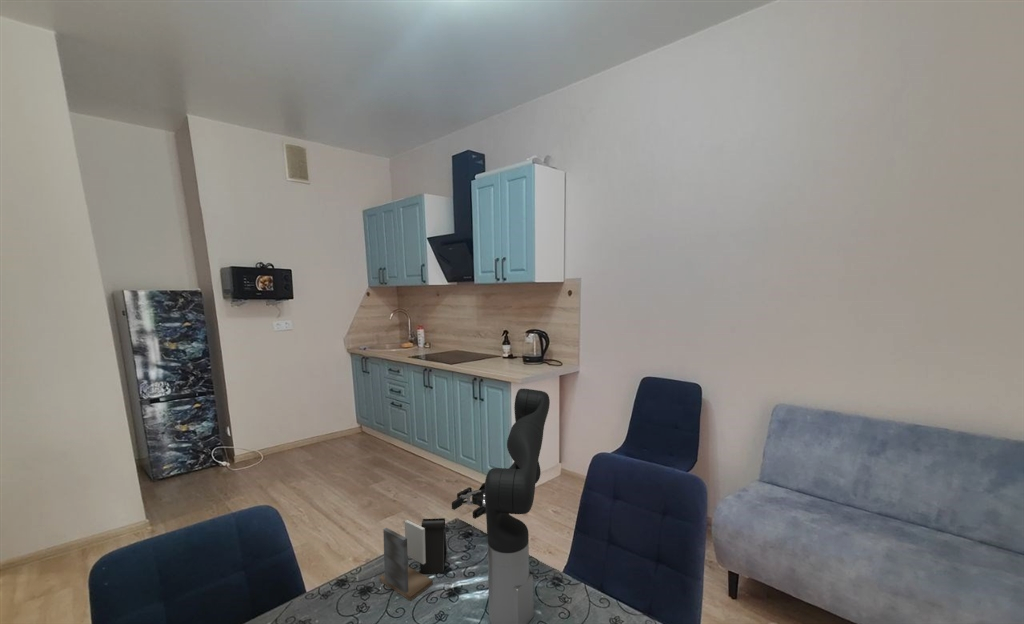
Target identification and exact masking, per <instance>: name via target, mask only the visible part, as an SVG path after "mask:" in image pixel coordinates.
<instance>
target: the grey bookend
mask: <svg viewBox="0 0 1024 624" xmlns="http://www.w3.org/2000/svg"><path fill="white" fill-rule="evenodd" d="M382 533H383V563H384V564H383V565H384V566H383V567H384V569H383V570H384V574H383V575H381V576H380V577H379V581H380V582H381V583H383V584H384V585H385V586H387V587H389V588H390V589H392V590H394V591H395V592H396V593H397V594H399V595H400V596H401V597H404V598H405V599H407V600H408V601H409V602H411V601H412V600H414V599H415V598H417V597H418V596H419V595H421V594H422V593H423V592H424V591H426V590H428V588H430V587H431V586H432V585H433V584H434V580H433V579H431V578H429V577H428V576H427V575H424V574H421V573H420V571H417V570H416V569H414V568H412V567H411V566H409V556H408V555H407V538H405V535H404V536H403V535H401V534H400V533H398V532H396V531H394V530H392V529H390V528H388V527H385V528H384V529H383V532H382Z"/></svg>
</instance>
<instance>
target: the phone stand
mask: <svg viewBox="0 0 1024 624" xmlns="http://www.w3.org/2000/svg"><path fill="white" fill-rule="evenodd" d="M420 526H421V527H423V528H425V556H426V563H425V564H421V563H419V565H420V567H419V573H421V574H423V575H424V574H425V575H426V574H443V573H444V569H445V565H446V562H447V561H446V560H447V556H448V545H447V542H448V541H447V533H446V518H443V517H442V518H441V517H440V518H439V517H438V518H437V517H436V518H422V520H421V525H420Z"/></svg>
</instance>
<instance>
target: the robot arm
mask: <svg viewBox="0 0 1024 624" xmlns="http://www.w3.org/2000/svg"><path fill="white" fill-rule="evenodd" d="M513 409H514V420H515V422H514V423H513V425H512V427H511V428H510V431H509V434H508V437H507V439H506V448H507V452H508V454H509V456H510V457H511V459H512V461H513V463H512V464H511V465H510V467H509V468H507V467H504V468H503V467H493V468H490V469H489V470H488V472H487V474H486V475H485V480H484V481H485V482H483V483H482V484H481V486H480V487H479V488H478V489H477V490H473V488H472V487H471V486H469V487H467V488H465V489H464V490H461V491H460V492H457V493H456V499H455V500H453V501H452V502H451V509H452V510H453V511H455V510H457V509H458V508H460V507H461V506H463V505H468V506H472V505H474V506H477V508H475V509H474V510H472V519H474V520H475V519H478V518H480V517H481V516H483V515H485V517H486V518H485V519H486V535H487V572H488V573H487V575H488V576H487V580H488V581H487V583H488V584H487V585H488V586H487V587H488V619H489V622H490V624H528V623H529V622H530V621H531V620H532V619H533V618H534V615H535V613H534V611H535V609H534V575H533V574H531V573H530V554H529V553H530V550H529V549H530V547H529V544H530V543H529V529H528V527H527V525H526V524H525V523H524V522H523V521H522V520H520V519H518V518H516V517H514V516H513V515H525V514H528V513H529V512H530V511H531V510H532V507H533V504H534V500H535V491H536V484H537V483H538V481H540V478H541V473H542V472H541V466H540V462H539V458H540V454H541V450H542V445H543V439H544V431H545V425H546V424H545V423H546V420H547V417H548V414H549V410H550V396H549V394H548V393H547V392H545V391H543V390H538V389H537V390H536V389H531V388H519V389H517V392H516V395H515V399H514V407H513Z"/></svg>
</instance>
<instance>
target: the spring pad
mask: <svg viewBox="0 0 1024 624" xmlns="http://www.w3.org/2000/svg"><path fill="white" fill-rule="evenodd" d="M404 537H405V538H407V555H408V558H411V559H412V560H414V561H416V562H418V563H419V564H420V563H421V564H425V563H426V556H425V528H423V527H421V525H419V524H417V523H415V522H412V521H411V520H408V519H405V521H404Z"/></svg>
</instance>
